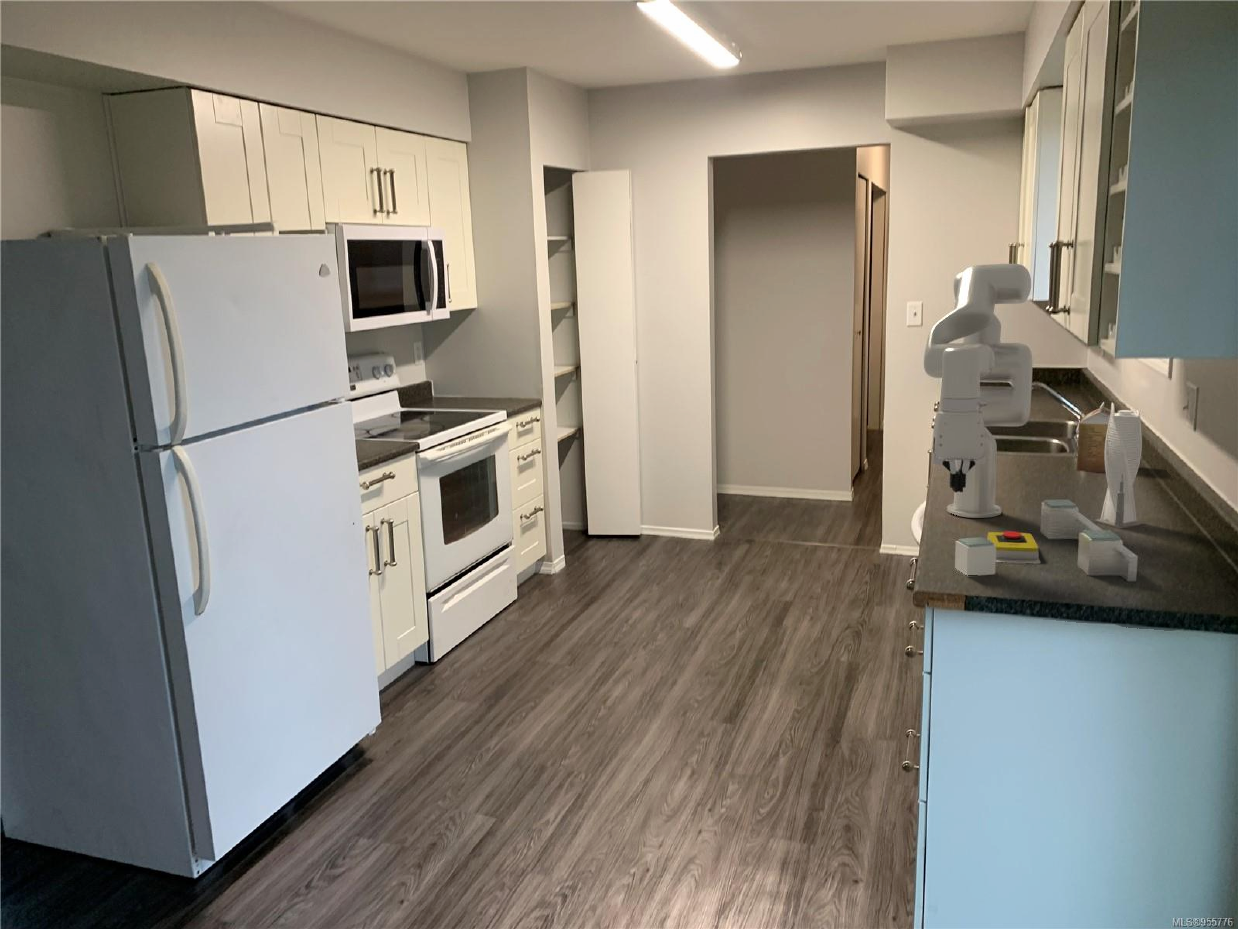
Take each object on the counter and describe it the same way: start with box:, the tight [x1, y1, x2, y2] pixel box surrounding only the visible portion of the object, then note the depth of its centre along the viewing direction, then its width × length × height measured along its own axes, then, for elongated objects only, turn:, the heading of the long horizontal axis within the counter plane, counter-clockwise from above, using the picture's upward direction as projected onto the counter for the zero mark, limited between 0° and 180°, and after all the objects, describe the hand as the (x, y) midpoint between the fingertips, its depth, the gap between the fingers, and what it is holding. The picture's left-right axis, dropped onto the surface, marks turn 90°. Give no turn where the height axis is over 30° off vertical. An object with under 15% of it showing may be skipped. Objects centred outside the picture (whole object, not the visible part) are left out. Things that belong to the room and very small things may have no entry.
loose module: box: [954, 536, 997, 577], centre depth 183 cm, size 5×6×6 cm
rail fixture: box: [1039, 499, 1139, 582], centre depth 192 cm, size 38×8×8 cm, turn 171°
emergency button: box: [986, 530, 1041, 565], centre depth 194 cm, size 9×4×15 cm
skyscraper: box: [1093, 402, 1143, 530], centre depth 210 cm, size 8×8×28 cm
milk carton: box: [1076, 401, 1111, 473], centre depth 265 cm, size 11×11×19 cm
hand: (957, 490), depth 193 cm, fingers closed
